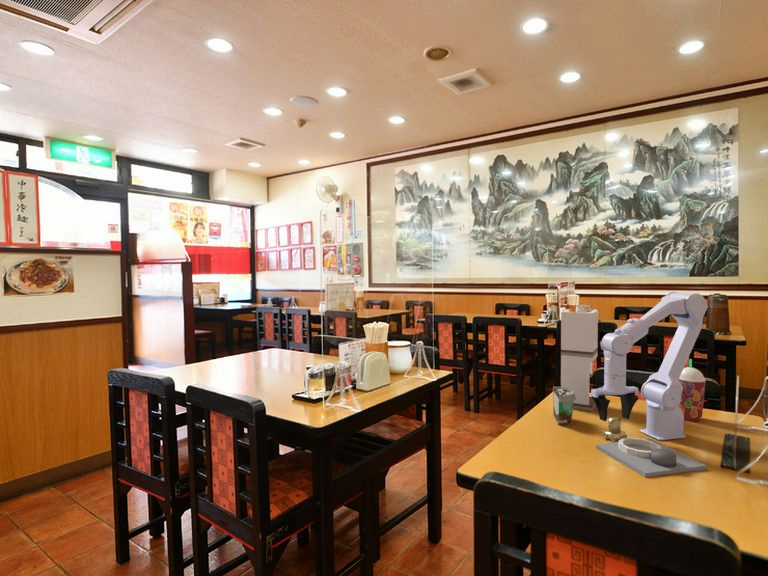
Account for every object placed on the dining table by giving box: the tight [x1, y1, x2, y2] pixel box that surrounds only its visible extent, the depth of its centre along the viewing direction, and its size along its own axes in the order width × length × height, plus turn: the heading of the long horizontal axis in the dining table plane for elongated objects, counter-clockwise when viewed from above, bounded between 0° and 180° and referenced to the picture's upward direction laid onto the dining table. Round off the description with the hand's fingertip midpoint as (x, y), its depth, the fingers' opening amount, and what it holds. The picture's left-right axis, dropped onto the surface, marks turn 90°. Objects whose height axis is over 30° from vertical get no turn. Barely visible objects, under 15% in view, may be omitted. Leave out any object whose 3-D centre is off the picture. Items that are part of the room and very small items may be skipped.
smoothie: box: [678, 358, 707, 422], centre depth 149 cm, size 8×8×20 cm
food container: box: [552, 386, 576, 426], centre depth 149 cm, size 12×6×10 cm, turn 168°
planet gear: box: [601, 416, 628, 443], centre depth 134 cm, size 6×6×6 cm
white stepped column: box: [560, 308, 599, 412], centre depth 165 cm, size 11×11×35 cm
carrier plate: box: [595, 437, 708, 478], centre depth 120 cm, size 18×18×4 cm
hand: (614, 419), depth 133 cm, fingers open, 7 cm apart
